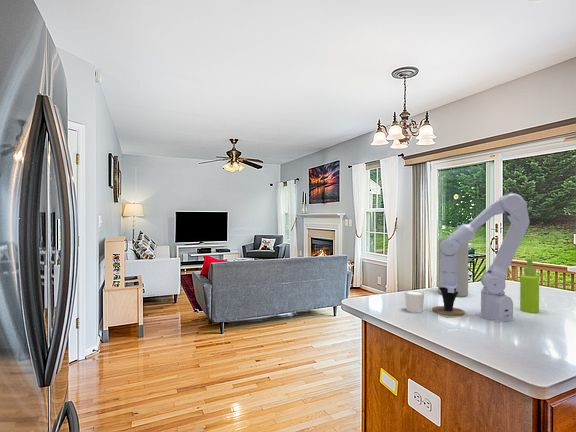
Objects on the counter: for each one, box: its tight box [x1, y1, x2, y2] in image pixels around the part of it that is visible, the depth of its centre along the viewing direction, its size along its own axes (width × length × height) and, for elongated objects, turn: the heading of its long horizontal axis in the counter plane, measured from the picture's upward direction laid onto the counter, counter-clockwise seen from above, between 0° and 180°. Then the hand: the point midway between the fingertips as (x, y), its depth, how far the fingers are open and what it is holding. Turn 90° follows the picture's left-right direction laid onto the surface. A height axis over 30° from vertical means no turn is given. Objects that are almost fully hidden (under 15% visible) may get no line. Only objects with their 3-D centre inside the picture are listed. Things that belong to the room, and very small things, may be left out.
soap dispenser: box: [519, 257, 543, 314], centre depth 129 cm, size 6×7×20 cm
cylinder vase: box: [437, 238, 469, 298], centre depth 157 cm, size 12×12×25 cm
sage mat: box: [424, 307, 474, 319], centre depth 126 cm, size 12×12×1 cm
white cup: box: [404, 290, 425, 314], centre depth 127 cm, size 7×7×7 cm
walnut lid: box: [431, 302, 466, 317], centre depth 126 cm, size 11×11×3 cm
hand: (448, 308), depth 126 cm, fingers closed on walnut lid, 3 cm apart
